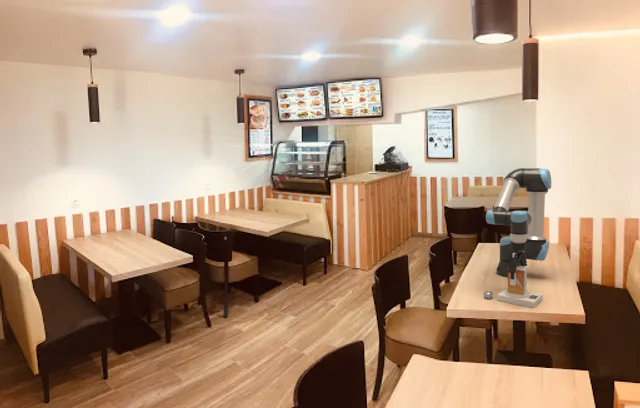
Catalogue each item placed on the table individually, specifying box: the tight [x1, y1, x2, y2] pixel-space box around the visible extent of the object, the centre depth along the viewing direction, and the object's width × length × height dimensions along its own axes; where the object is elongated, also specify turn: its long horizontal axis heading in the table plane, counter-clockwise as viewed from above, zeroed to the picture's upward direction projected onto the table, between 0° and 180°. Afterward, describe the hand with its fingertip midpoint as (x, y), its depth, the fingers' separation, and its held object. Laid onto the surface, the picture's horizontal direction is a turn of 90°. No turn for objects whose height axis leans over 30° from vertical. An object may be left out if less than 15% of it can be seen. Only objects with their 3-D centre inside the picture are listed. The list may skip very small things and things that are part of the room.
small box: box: [507, 266, 528, 295], centre depth 234 cm, size 8×6×13 cm
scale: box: [496, 287, 544, 309], centre depth 235 cm, size 18×14×4 cm
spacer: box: [483, 290, 494, 300], centre depth 239 cm, size 4×4×3 cm
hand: (517, 281), depth 235 cm, fingers open, 13 cm apart
